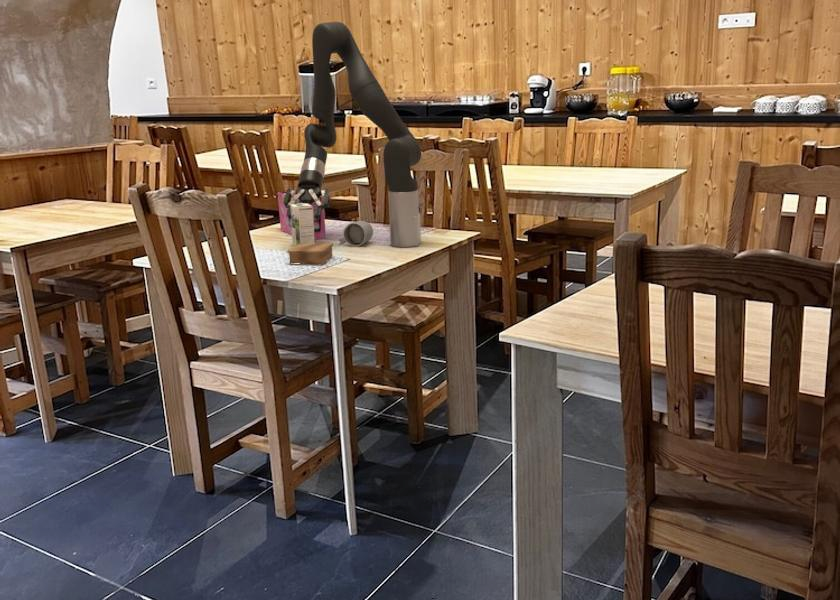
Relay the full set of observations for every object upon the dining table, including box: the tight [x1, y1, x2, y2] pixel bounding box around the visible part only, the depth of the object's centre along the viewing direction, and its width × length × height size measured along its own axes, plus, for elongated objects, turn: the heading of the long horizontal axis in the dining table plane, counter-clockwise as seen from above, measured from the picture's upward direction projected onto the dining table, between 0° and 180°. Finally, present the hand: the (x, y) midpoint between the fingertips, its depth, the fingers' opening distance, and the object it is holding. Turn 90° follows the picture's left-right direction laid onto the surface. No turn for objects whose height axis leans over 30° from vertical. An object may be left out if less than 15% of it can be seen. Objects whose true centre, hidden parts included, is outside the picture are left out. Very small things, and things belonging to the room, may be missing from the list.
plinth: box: [286, 242, 334, 265], centre depth 230 cm, size 11×11×4 cm
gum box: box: [277, 191, 327, 240], centre depth 266 cm, size 24×8×14 cm, turn 31°
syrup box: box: [291, 203, 316, 247], centre depth 241 cm, size 6×6×14 cm
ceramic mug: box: [338, 220, 374, 248], centre depth 250 cm, size 11×8×8 cm
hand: (303, 218), depth 242 cm, fingers open, 8 cm apart
